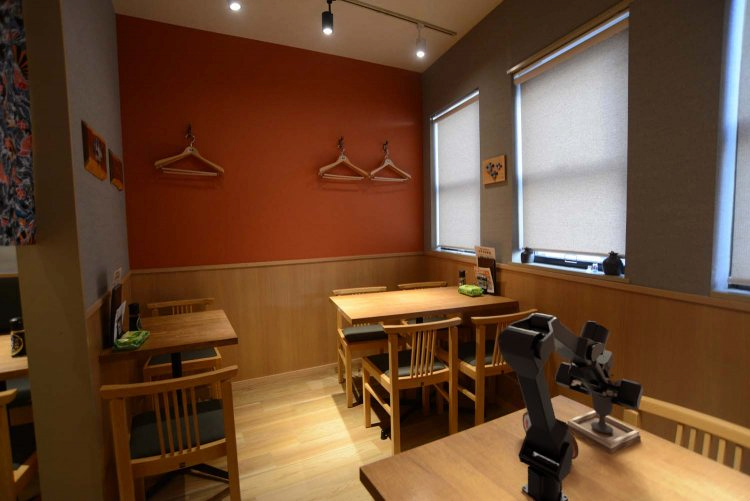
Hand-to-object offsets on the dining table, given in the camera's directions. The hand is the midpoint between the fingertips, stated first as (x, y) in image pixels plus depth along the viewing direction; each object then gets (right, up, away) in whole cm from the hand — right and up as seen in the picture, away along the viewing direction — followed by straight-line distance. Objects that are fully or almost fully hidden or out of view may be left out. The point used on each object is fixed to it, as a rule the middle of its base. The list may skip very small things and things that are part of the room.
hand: (604, 398), depth 93 cm
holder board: (-1, -9, 0) cm, 10 cm away
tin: (-18, -11, -5) cm, 22 cm away
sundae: (-1, -8, 0) cm, 8 cm away
